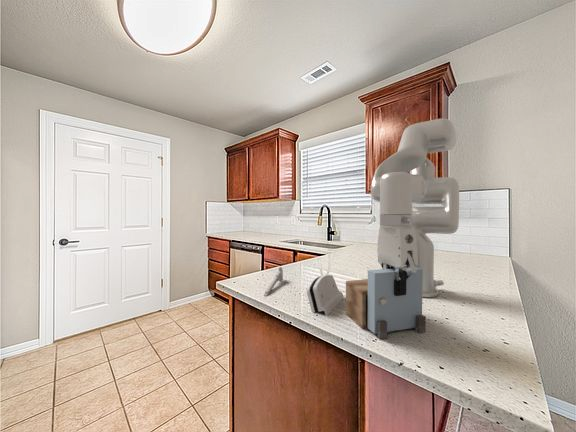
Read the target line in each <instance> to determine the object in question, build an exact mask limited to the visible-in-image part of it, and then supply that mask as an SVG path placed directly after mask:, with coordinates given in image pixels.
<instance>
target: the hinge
mask: <svg viewBox="0 0 576 432" xmlns="http://www.w3.org/2000/svg"><path fill="white" fill-rule="evenodd" d="M306 295H307V299H308V302H309V306H310V310H311V313H316V312H318V313H319V312H324V314H325V316H328V315H329V314H330V313H332V311H333V310H334V309H335V308H336V306H337V305H339V304H340V302H341V301H343V299H344V298H345V296H344V294H343V292H342V291H340V290H339V288H338V285H337V283H336V280H335V278H334V276H333V275H331V274H330V275H329V274H326V275H325V274H324V275H319V276H318V277H316V278H314V279H313V280H311V281H310V283H309V284H308V285H307V287H306ZM343 297H344V298H343Z"/></svg>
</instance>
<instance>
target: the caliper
mask: <svg viewBox="0 0 576 432" xmlns="http://www.w3.org/2000/svg"><path fill="white" fill-rule="evenodd" d="M283 280H284V272H283V268H282V266H279V268H278V271H277V272H276V274H275V277H274V278H273V280H272V281H271V283H270V284H269V285H268V287H267V288H266V290H265V292H264V293H263V294H264V295H263V296H264V297H267V296H268V295H270V293H271V291H272V290H273V288H274V286H275V285H276V283H277V282H282V281H283Z"/></svg>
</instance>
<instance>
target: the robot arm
mask: <svg viewBox="0 0 576 432" xmlns="http://www.w3.org/2000/svg"><path fill="white" fill-rule="evenodd" d="M456 142H457V133H456V129H455V126H454V124H453V122H452V121H451V120H450V119H448V118H436V119H431V120H426V121H421V122H416V123H413V124H410V125H408V126H407V127H406V128H405V129H404V131H403V132H402V135H401V138H400V141H399V145H398V148H397V151H396V152H395V153H393V154H392V155H390V156H389V157H387V158H386V159H385V160H383V161H381V163H380V164H378V166H377V168H376V169H375V172H374V174H373V176H372V177H373V178H372V180H371V184H370V196H371V197H372V198H371V199H373V200H374V201H375V202H377V203H379V229H378V237H377V262H378V264H379V265H380V266H381V269H390V268H395V273H396V280H394V295H395V296H402V295H406V280H408V279H409V277H410V276H411V275H413V274H416V273H417V271H416V268H415V267H417V268H420V269H423V277H422V298H435V297H438V295H439V290H438V288H437V287H438V286H440V287H441V286H444V284H445V283H444V280H443V279H441V280H440V279H438V280H436V279H434V273H435V271H434V267H435V266H434V261H435V258H434V256H435V246H434V242H432V240H431V238H430V237H428V235H427V234H436V235H437V234H441V235H452V234H455V233H456V232H457V231H458V229H459V223H460V222H459V221H460V186H459V183H458V181H457V179H455V178H454V177H449V176H448V177H447V176H446V177H445V176H444V177H436V166H435V164H434V163H433V162H432V161H431V160H430V159H429V158H428V156H427V155H428V154H431V153H432V154H433V153H441V152H446V151H451V150H452V149H453V148H454V147H455V146H456ZM413 204H416V205H442V206H413ZM400 270H403V271H402V273H401V272H400Z"/></svg>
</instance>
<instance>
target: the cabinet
mask: <svg viewBox="0 0 576 432" xmlns="http://www.w3.org/2000/svg"><path fill="white" fill-rule="evenodd" d="M345 315H346V316H347V317H348V318H350V320H351V321H353V322H354V323H355V324H356V325H357V326H358V327H360V329H362V330H365V329H366V330H369V329H368V278H365V279H364V278H363V279H354V280H353V279H351V280H346V281H345ZM426 320H427V319H426V316H425V315H424V314H422V315H418V316H416V328H415V332H417V333H418V334H421V333H426V322H427V321H426ZM376 335H377V336H376V338H377V339H379V340H386V339H388V332H387V322H386V321H385V320H383V321H377V334H376Z"/></svg>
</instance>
